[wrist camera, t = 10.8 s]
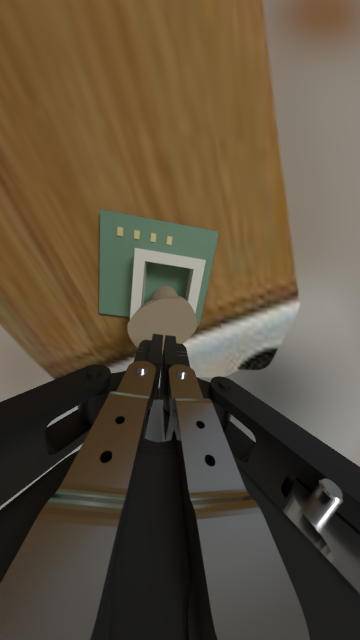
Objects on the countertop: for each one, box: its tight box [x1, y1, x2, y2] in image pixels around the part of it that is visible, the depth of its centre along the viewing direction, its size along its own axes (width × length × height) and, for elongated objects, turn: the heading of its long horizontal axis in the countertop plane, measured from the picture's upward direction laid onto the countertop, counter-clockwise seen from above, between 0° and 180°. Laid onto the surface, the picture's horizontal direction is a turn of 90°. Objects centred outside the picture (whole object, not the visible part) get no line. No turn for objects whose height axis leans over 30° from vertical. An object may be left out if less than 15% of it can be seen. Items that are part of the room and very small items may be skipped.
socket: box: [130, 248, 206, 319], centre depth 28 cm, size 12×10×4 cm
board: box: [99, 209, 219, 326], centre depth 29 cm, size 16×18×1 cm
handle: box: [127, 285, 197, 351], centre depth 23 cm, size 5×6×15 cm
